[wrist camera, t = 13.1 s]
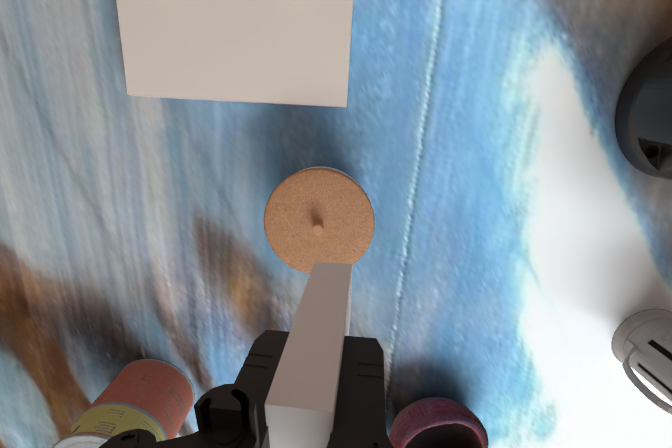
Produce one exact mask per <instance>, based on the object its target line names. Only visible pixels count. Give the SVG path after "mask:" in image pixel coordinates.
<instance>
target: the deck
mask: <svg viewBox="0 0 672 448" xmlns="http://www.w3.org/2000/svg"><path fill="white" fill-rule="evenodd" d="M116 2H117V10H118V18H119V27H120V35H121V43H122V52H123V60H124V68H125V76H126V85H127V93H128V95H134V96H143V97H160V98H178V99H196V100H214V101H232V102H250V103H268V104H286V105H304V106H323V107H341V108H347V92H348V75H349V58H350V41H351V25H352V8H353V0H116Z"/></svg>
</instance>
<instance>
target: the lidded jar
mask: <svg viewBox="0 0 672 448" xmlns="http://www.w3.org/2000/svg"><path fill="white" fill-rule="evenodd" d="M264 229H265V233H266V237H267V239H268V242H269V244H270V246H271V247H272V249H273V251H274V252H275V253H276V254H277V256H278V257H279V258H280V259H281V260H283V261H284V262H285V263H286V264H288V265H289V266H291V267H292V268H294V269H297V270H299V271H301V272H305V273H308V274H310V273H311V270H312V267H313V265H314V262H315V261H317V262H332V263H346V264H352V265H353V264H354V263H356V262H357V261H358V260H359V259H360V258H361V257H362V256H363V254H364V253H365V252H366V250H367V248H368V247H369V245H370V243H371V240H372V237H373V232H374V213H373V209H372V206H371V203H370V200H369V198H368V197H367V195H366V193H365V192H364V190H363V189H362V187H361V186H360V185H359V183H357V182H356V181H355V180H354V179H353V178H352V177H351V176H349V175H348V174H346V173H344V172H342V171H340V170H338V169H335V168H331V167H324V166H322V167H310V168H306V169H303V170H300V171H298V172H296V173H294V174H292V175H290V176H289V177H287V178H286V179H285V180H283V181H282V182H281V183H280V184H279V185H278V186H277V187H276V188H275V189H274V191H273V192H272V194H271V196H270V197H269V200H268V202H267V204H266V208H265V212H264Z"/></svg>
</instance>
